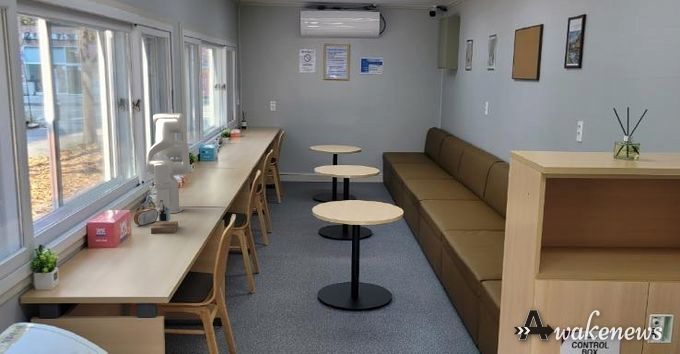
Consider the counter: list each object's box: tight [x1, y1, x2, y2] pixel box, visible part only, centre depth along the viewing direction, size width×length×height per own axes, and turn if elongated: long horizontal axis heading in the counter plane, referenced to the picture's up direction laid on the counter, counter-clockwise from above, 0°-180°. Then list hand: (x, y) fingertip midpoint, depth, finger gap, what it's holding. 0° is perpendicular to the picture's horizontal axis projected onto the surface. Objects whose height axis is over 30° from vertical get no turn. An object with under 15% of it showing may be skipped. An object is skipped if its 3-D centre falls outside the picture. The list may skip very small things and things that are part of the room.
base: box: [150, 220, 179, 235], centre depth 304 cm, size 12×12×3 cm
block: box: [157, 208, 171, 222], centre depth 302 cm, size 5×5×6 cm
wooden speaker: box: [133, 207, 159, 227], centre depth 316 cm, size 15×3×8 cm, turn 149°
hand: (164, 219), depth 303 cm, fingers closed on block, 5 cm apart
